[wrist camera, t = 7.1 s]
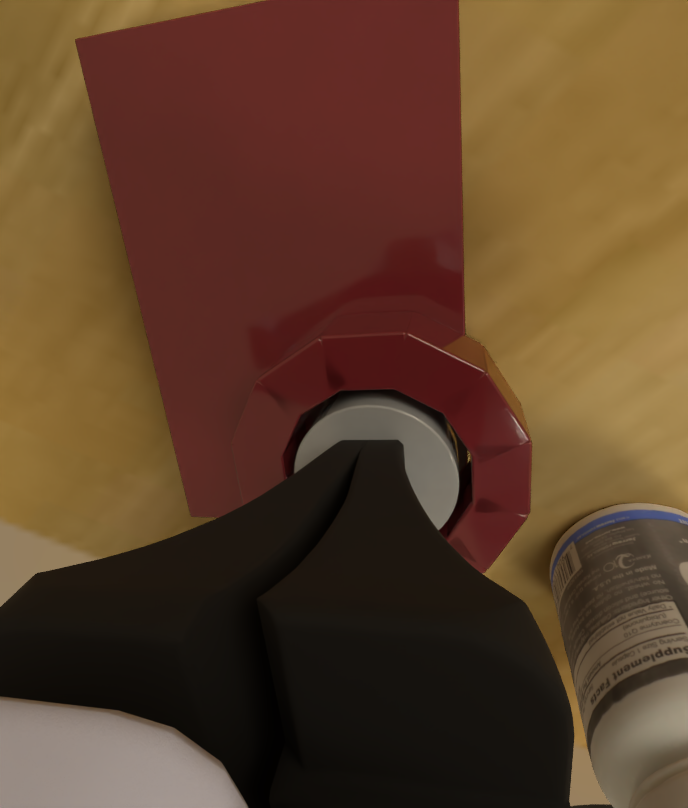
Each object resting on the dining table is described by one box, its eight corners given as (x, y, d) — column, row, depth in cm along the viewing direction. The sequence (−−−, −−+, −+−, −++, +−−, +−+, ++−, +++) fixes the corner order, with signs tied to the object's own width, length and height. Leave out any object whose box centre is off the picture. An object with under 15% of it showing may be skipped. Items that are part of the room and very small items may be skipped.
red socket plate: (511, 507, 16) (527, 605, 12) (222, 502, 18) (161, 584, 14) (518, -15, 11) (549, -114, 7) (127, 59, 13) (-1, 9, 9)
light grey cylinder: (460, 506, 13) (461, 554, 12) (323, 503, 14) (304, 548, 12) (457, 371, 12) (457, 403, 10) (306, 376, 13) (282, 407, 11)
